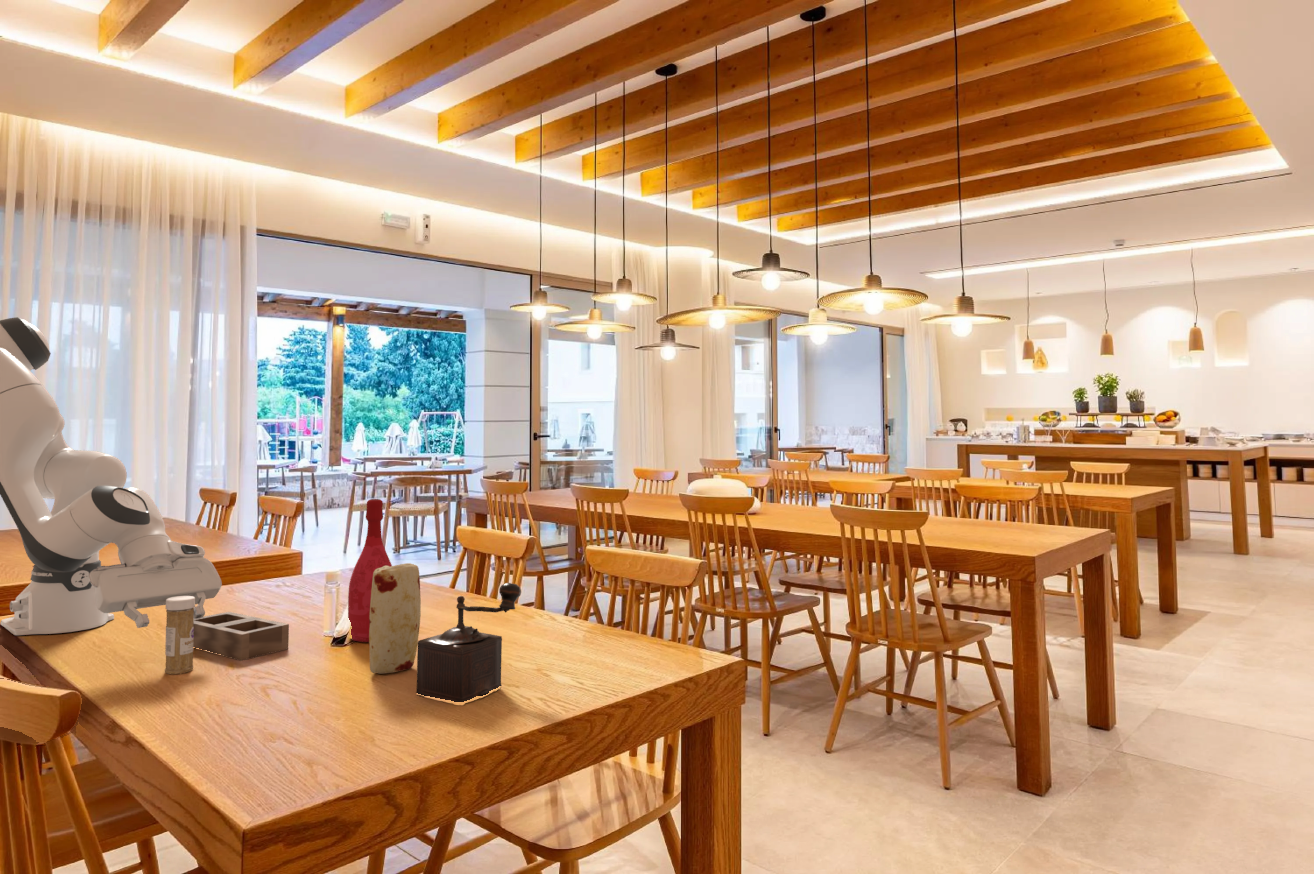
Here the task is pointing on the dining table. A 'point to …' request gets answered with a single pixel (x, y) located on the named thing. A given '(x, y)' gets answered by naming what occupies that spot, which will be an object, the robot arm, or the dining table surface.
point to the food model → (394, 618)
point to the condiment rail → (239, 635)
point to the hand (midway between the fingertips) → (172, 620)
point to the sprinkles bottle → (179, 634)
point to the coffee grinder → (463, 656)
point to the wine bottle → (366, 573)
